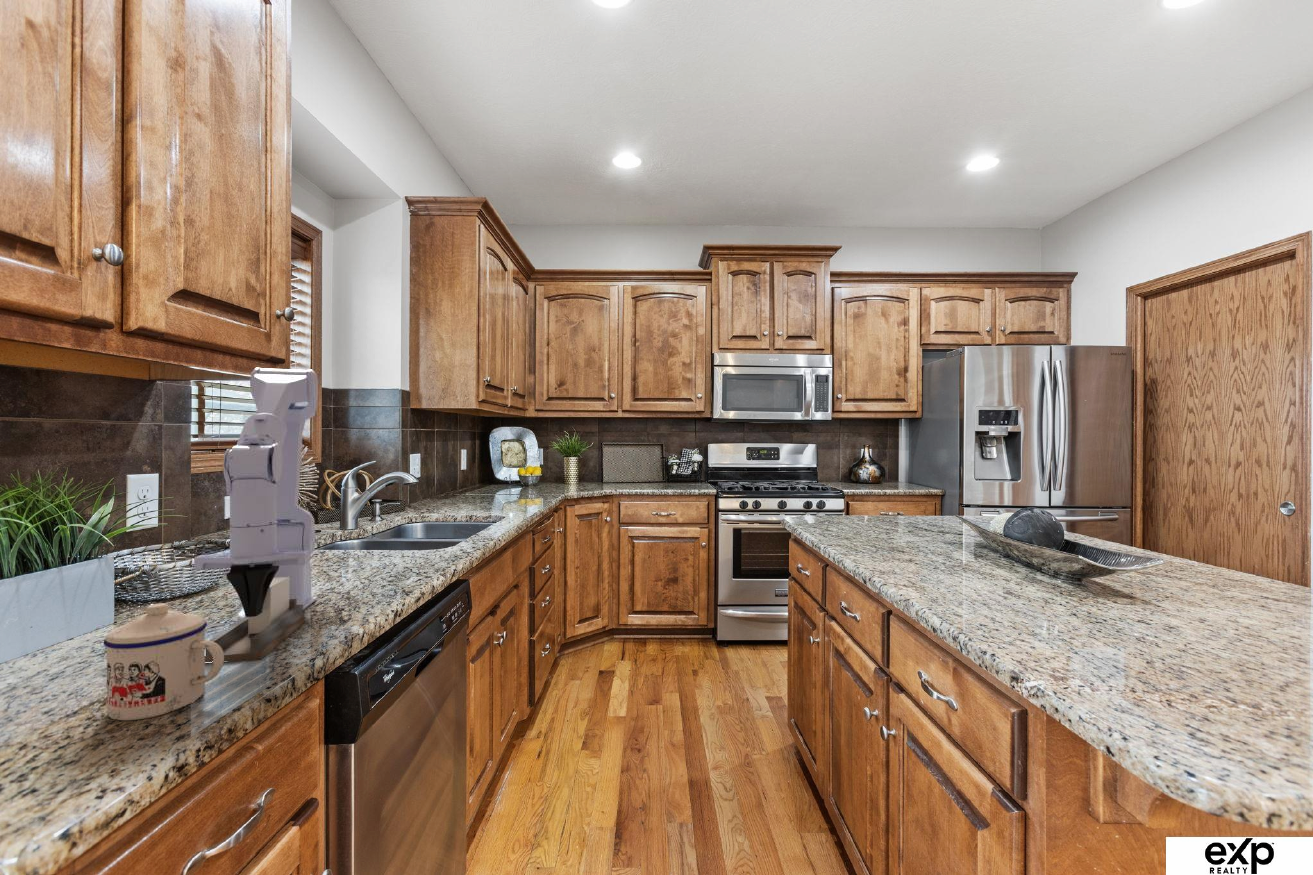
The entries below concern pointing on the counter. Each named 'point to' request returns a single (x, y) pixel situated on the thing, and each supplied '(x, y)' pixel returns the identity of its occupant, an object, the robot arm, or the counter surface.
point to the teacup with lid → (157, 663)
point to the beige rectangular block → (272, 605)
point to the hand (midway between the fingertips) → (253, 614)
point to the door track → (257, 636)
